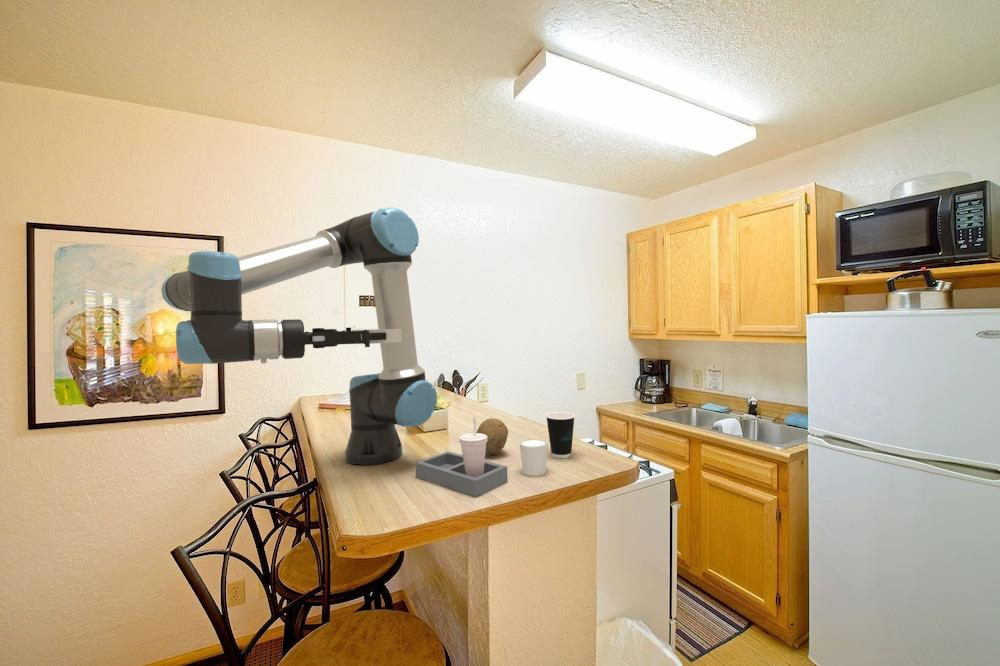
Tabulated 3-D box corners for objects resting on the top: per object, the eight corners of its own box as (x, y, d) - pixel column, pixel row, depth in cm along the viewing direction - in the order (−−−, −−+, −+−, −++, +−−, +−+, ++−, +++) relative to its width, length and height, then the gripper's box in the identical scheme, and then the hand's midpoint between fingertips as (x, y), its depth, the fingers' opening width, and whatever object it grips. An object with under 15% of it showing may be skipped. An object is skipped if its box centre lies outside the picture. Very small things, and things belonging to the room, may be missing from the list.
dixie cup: (572, 461, 105) (571, 419, 105) (542, 458, 108) (541, 417, 108) (579, 452, 112) (578, 412, 112) (551, 449, 116) (550, 411, 115)
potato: (474, 460, 108) (473, 422, 108) (476, 450, 117) (475, 415, 117) (509, 459, 109) (507, 421, 108) (508, 449, 117) (507, 414, 117)
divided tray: (415, 477, 98) (415, 462, 98) (448, 464, 106) (447, 451, 106) (476, 497, 85) (475, 480, 85) (507, 481, 93) (507, 466, 93)
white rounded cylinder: (547, 477, 95) (546, 447, 95) (518, 476, 96) (517, 446, 96) (549, 467, 102) (549, 439, 102) (522, 466, 103) (521, 438, 103)
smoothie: (494, 478, 92) (492, 416, 92) (473, 487, 88) (471, 422, 87) (475, 472, 97) (474, 413, 97) (454, 480, 92) (452, 418, 92)
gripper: (276, 356, 89) (375, 350, 100) (287, 363, 67) (411, 355, 79) (275, 321, 88) (374, 319, 100) (285, 317, 67) (410, 316, 79)
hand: (390, 335), depth 89 cm, fingers open, 13 cm apart
